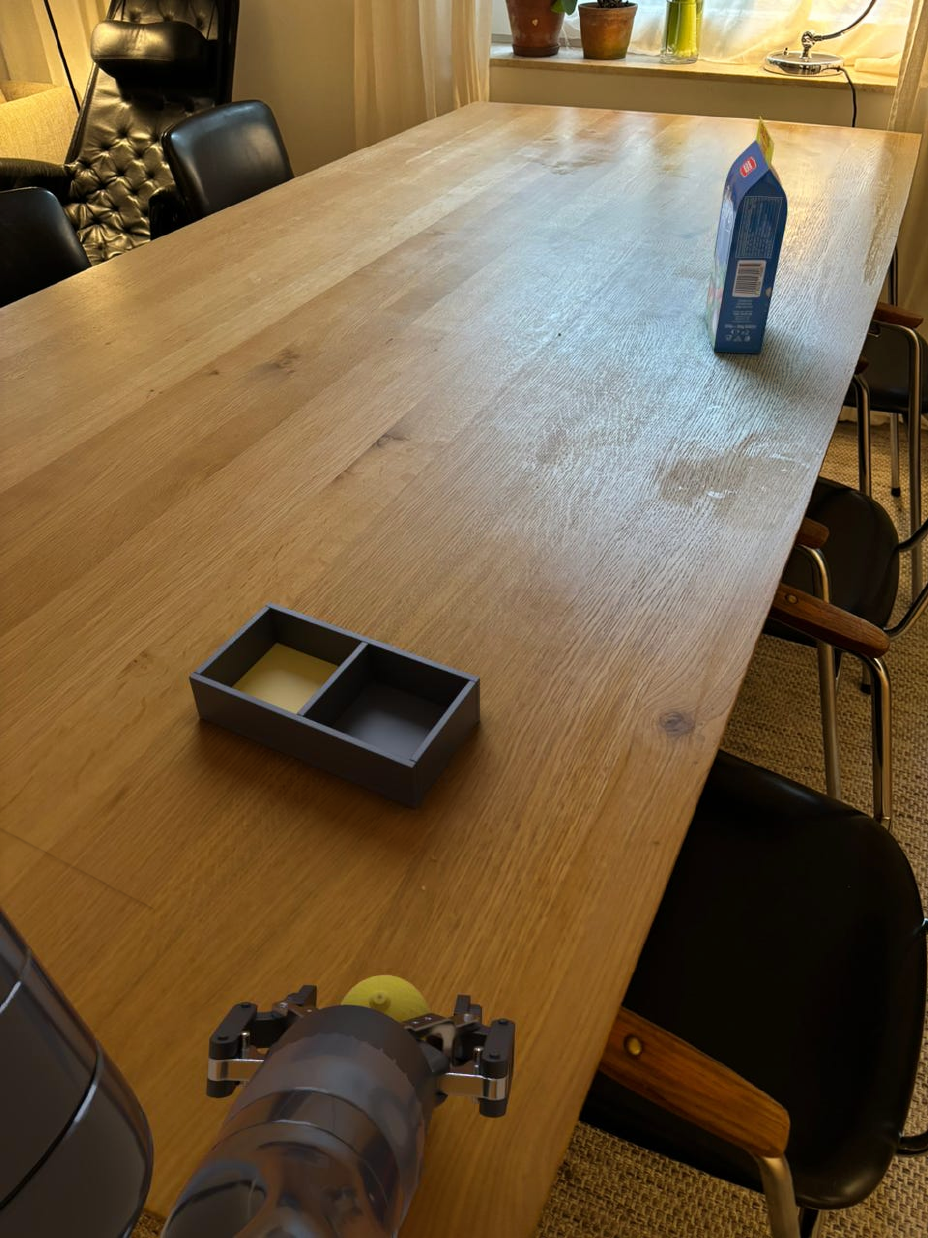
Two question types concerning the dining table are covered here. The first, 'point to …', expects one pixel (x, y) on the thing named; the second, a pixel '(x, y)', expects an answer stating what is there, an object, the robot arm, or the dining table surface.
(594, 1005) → the dining table surface
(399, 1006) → the lemon
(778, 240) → the blue food package
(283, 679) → the sorter
